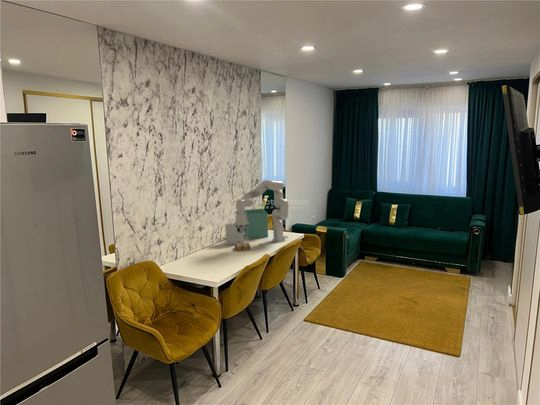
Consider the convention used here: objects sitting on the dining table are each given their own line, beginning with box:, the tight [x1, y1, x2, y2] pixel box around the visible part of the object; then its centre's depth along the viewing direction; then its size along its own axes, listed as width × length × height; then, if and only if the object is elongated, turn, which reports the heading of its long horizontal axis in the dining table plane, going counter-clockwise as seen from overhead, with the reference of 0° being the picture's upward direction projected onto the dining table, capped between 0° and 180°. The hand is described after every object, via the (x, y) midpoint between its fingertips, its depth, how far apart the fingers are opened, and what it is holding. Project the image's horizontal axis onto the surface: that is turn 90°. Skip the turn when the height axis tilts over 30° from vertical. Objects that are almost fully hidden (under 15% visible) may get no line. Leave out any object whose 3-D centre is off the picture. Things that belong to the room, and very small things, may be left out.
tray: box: [234, 242, 251, 252], centre depth 356 cm, size 12×12×4 cm
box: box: [243, 208, 269, 240], centre depth 403 cm, size 23×21×26 cm
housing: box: [239, 225, 245, 234], centre depth 353 cm, size 8×5×7 cm, turn 16°
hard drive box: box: [225, 222, 244, 245], centre depth 375 cm, size 16×8×20 cm, turn 84°
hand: (241, 231), depth 353 cm, fingers closed on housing, 5 cm apart
